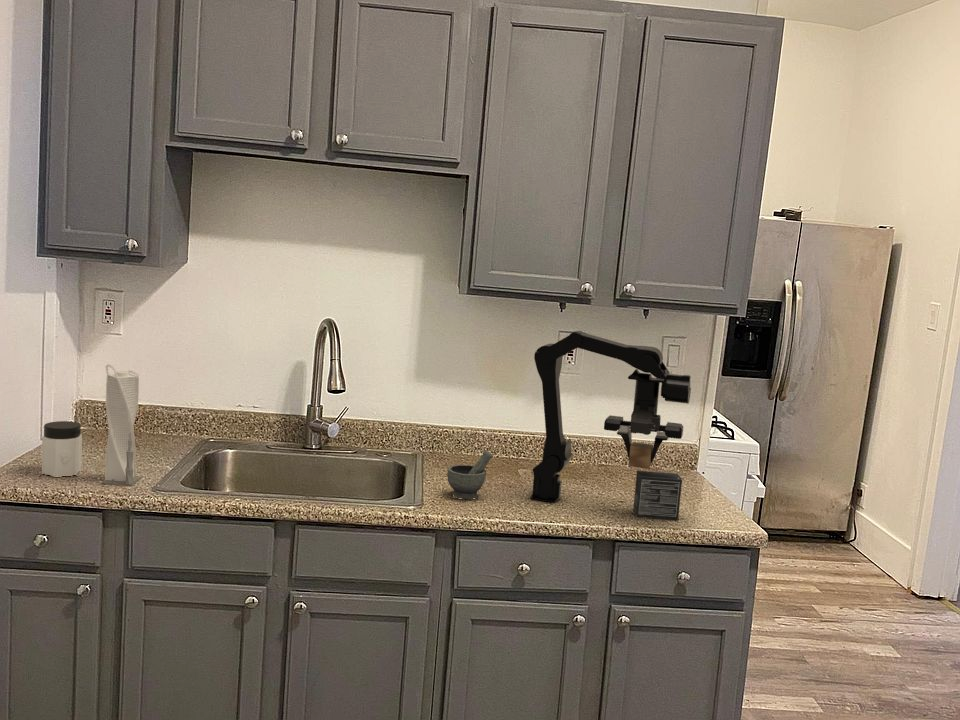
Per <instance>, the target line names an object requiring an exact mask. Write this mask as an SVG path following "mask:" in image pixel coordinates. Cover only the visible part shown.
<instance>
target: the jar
mask: <svg viewBox="0 0 960 720" xmlns="http://www.w3.org/2000/svg"><path fill="white" fill-rule="evenodd" d="M81 426H82V425H81V423H79V422H76V421H70V420H69V421H67V420H62V421H60V420H58V421H51V422H47V423H45V424H44V425H43V436H41V474H42V473H45V474H49V475H53V476H63V475H76V474H77V473H78V472H79V471H80V472H82V457H83V456H82V455H83V454H82V453H83V452H82V451H83V449H82V448H83V447H82V446H83V433H82V432H81V429H82V427H81ZM80 472H79V473H80ZM79 473H78V474H79ZM78 474H77V475H78ZM77 475H76V476H77Z"/></svg>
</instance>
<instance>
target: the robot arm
mask: <svg viewBox="0 0 960 720" xmlns="http://www.w3.org/2000/svg"><path fill="white" fill-rule="evenodd" d="M576 349H581V350H584V351H588V352H591V353H594V354H598V355H602V356H605V357H609V358H613V359H615V360H619V361H622V362H624V363H626V364H627V365H629V366H630V367H633V368H634V371H633V372H632V373H631V374H630V375H628V376H627V379H628V380H632V381H634V380H635V388H634V389H635V390H634V399H633V411H632V413H631V415H630V416H631V418H630V420H624V416H619V415H608V416H607V417H606V418H605V420H604V423H603V424H604V426H603V430H604V431H611V432H612V431H613V432H616V435H618V436H621V438H622V441H623V443H624V445H625V451H626V453H627V458H628V460H629V457H630V446H631V445H632V443H633V440H632V437H633V436H632V434H642V435H646V436H648V435H650V434H651V433H652V432H653V433H656V435H655V437H654V443H653V451H652V455H651V463H652V464H653V463H654V460H655V457H656V455H657V452H658V450H659V447H660V446H661V444H662V443H663V442H664V441H666V442H667V441H668V440H669V438H670V439H678V440H681V439H682V437H683V434H684V424H682V423H680V422H679V423H677V422H669V421H667V423H666V425H664V424H661V415H660V414H658V405H659V394H660V397H662V398H663V399H664V401H665V402H669V403H678V404H687V405H688V404H689V403H690V399H691V392H692V387H691V378H692V377H691V375H690V374H673V373H670V371H669V369H668V368H667V366H666V364H665V363H664V361H663V360H664V356H663V353H662V351H661V350H660V349H659V348H657V347H655V346H647V345H636V344H635V345H632V344H625V343H622V342H618V341H614V340H612V339H607V338H604V337H601V336H600V337H599V336H596V335H592V334H590V333H589V334H588V333H586V332H583V331H582V330H576V331H573V332H571V333H570V334H569V335H567V336H566V337H564V338H562V339H560V340H558V341H557V342H555V343H547V344H544V345H542V346H540V347H538V348H537V349H536V350H535V352H534V356H533V357H534V363H535V367H536V372H537V374H538V375H539V378H540V381H541V386H542V387H541V388H542V398H543V399H542V400H543V414H544V415H543V416H544V425H545V426H544V427H545V440H544V441H545V442H544V445H543V449H542V459H541V461H540V462H539V463H538V464H537V465H535V466H534V467H533V469H532V473H533V480H532V481H533V482H532V493H531V495H530V499H531V500H535V501H542V502H549V503H554V504H555V503H556V502H557V501H558V500H559V499H560V497H562V496H561V494H562V484H563V483H562V480H561V475H560V474H559V473H560V472H561V471H562V470H564V468H566V467H567V465H568V464H569V463H570V460H571V457H573V453H572V440H571V439H570V440H569V439H568V440H566V438H565V436H564V431H563V430H564V429H563V417H562V415H563V414H562V405H561V404H562V403H561V388H560V377H561V371H562V367H563V365H562V364H563V357H564V356H565V355H568V354H569V353H571V352H572V351H574V350H576ZM640 371H641V372H640ZM660 384H661V387H660Z"/></svg>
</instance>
